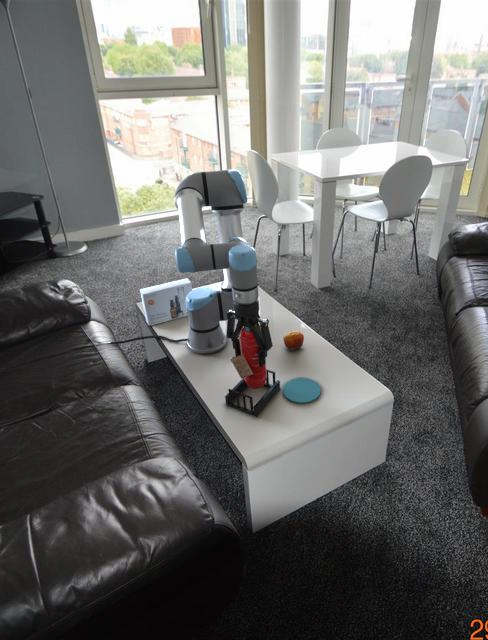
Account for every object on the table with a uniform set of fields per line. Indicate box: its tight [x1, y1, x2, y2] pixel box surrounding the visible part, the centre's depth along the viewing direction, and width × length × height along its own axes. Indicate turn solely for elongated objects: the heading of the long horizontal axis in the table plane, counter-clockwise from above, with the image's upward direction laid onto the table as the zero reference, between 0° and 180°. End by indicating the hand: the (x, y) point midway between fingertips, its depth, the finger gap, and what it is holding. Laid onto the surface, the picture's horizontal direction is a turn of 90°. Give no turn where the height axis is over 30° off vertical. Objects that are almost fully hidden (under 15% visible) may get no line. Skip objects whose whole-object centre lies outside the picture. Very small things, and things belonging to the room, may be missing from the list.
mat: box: [282, 377, 322, 405], centre depth 151 cm, size 13×13×1 cm
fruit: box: [283, 330, 305, 352], centre depth 172 cm, size 8×8×8 cm
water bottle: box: [230, 324, 267, 390], centre depth 140 cm, size 12×8×25 cm, turn 129°
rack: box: [224, 368, 281, 418], centre depth 147 cm, size 12×15×7 cm
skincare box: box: [139, 277, 193, 327], centre depth 190 cm, size 21×5×16 cm, turn 120°
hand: (250, 361), depth 141 cm, fingers closed on water bottle, 8 cm apart
